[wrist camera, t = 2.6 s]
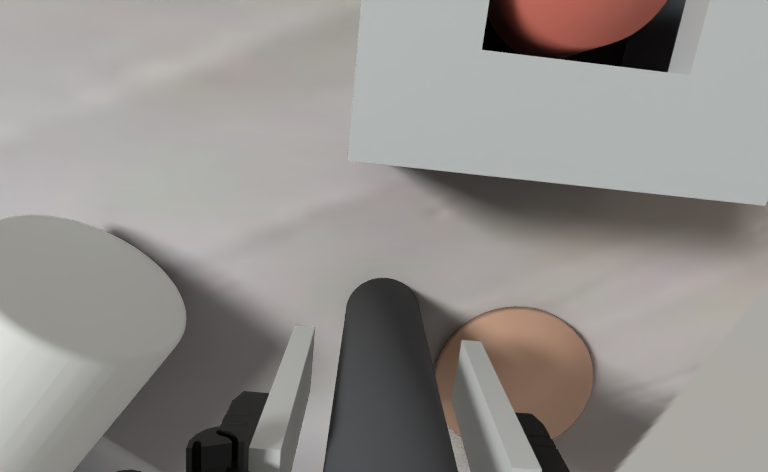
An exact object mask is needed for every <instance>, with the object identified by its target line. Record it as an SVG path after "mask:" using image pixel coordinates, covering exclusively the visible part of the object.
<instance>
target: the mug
mask: <svg viewBox="0 0 768 472" xmlns="http://www.w3.org/2000/svg"><path fill="white" fill-rule="evenodd" d="M185 327H186V310H185V306H184V302H183V300H182V297H181V295H180V293H179V291H178V289H177V288H176V286H175V284H174V283H173V282H172V280H171V279H170V278H169V277H168V275H167V274H166V273H165V272H164V271H163V270H162V269H161V268H160V267H159V266H158V265H157V264H156V263H155V262H154V261H153V260H151V259H150V258H149V257H148V256H146V255H145V254H144V253H142V252H141V251H140V250H138V249H137V248H135V247H134V246H132V245H130V244H129V243H127V242H125V241H124V240H122V239H120V238H118V237H116V236H114V235H112V234H110V233H108V232H105V231H103V230H101V229H98V228H96V227H93V226H90V225H87V224H84V223H81V222H77V221H73V220H69V219H65V218H60V217H53V216H46V215H14V216H7V217H2V218H0V472H73V471H74V470H75V469H76V467H77V466H78V465H79V464H80V463H81V461H82V460H83V459H84V458H85V457H86V455H87V454H88V453H89V452H90V450H91V449H92V448H93V447H94V446H95V444H96V443H97V442H98V441H99V440H100V438H101V437H102V436H103V435H104V433H105V432H106V431H107V430H108V429H109V427H110V426H111V425H112V424H113V422H114V421H115V420H116V419H117V418H118V416H119V415H120V414H121V413H122V412H123V410H124V409H125V408H126V407H127V405H128V404H129V403H130V402H131V401H132V399H133V398H134V397H135V396H136V394H137V393H138V392H139V391H140V390H141V388H142V387H143V386H144V385H145V384H146V382H147V381H148V380H149V379H150V377H151V376H152V375H153V374H154V373H155V371H156V370H157V369H158V368H159V366H160V365H161V364H162V363H163V362H164V360H165V359H166V358H167V357H168V356H169V354H170V353H171V352H172V351H173V349H174V348H175V347H176V346H177V345H178V343H179V342H180V340H181V338H182V336H183V334H184V331H185Z"/></svg>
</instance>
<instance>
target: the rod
mask: <svg viewBox="0 0 768 472" xmlns="http://www.w3.org/2000/svg"><path fill="white" fill-rule="evenodd" d="M323 472H458V470H457V466H456V461H455V457H454V453H453V449H452V445H451V440H450V436H449V432H448V428H447V423H446V419H445V415H444V411H443V407H442V402H441V398H440V394H439V390H438V385H437V381H436V377H435V373H434V369H433V364H432V360H431V356H430V352H429V347H428V343H427V339H426V335H425V331H424V326H423V322H422V318H421V314H420V309H419V305H418V302H417V299H416V297H415V295H414V294H413V292H412V291H411V290H410V289H409V288H408V287H407V286H406V285H404V284H403V283H401V282H399V281H397V280H393V279H389V278H377V279H372V280H369V281H367V282H365V283H363V284H361V285H360V286H359V287H358V288H356V289H355V291H354V292H353V293H352V294H351V296H350V298H349V300H348V303H347V307H346V314H345V321H344V328H343V335H342V342H341V349H340V356H339V363H338V370H337V377H336V384H335V391H334V399H333V406H332V413H331V420H330V427H329V434H328V441H327V448H326V455H325V462H324V469H323Z"/></svg>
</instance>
